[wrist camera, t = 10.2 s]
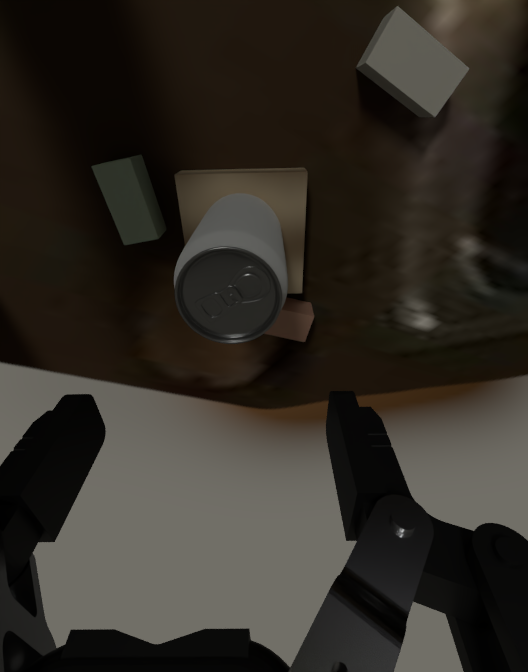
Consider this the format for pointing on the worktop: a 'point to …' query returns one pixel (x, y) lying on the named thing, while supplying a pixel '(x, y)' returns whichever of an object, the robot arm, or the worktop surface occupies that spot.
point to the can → (233, 271)
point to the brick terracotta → (293, 320)
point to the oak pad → (267, 184)
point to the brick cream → (411, 65)
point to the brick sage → (131, 199)
